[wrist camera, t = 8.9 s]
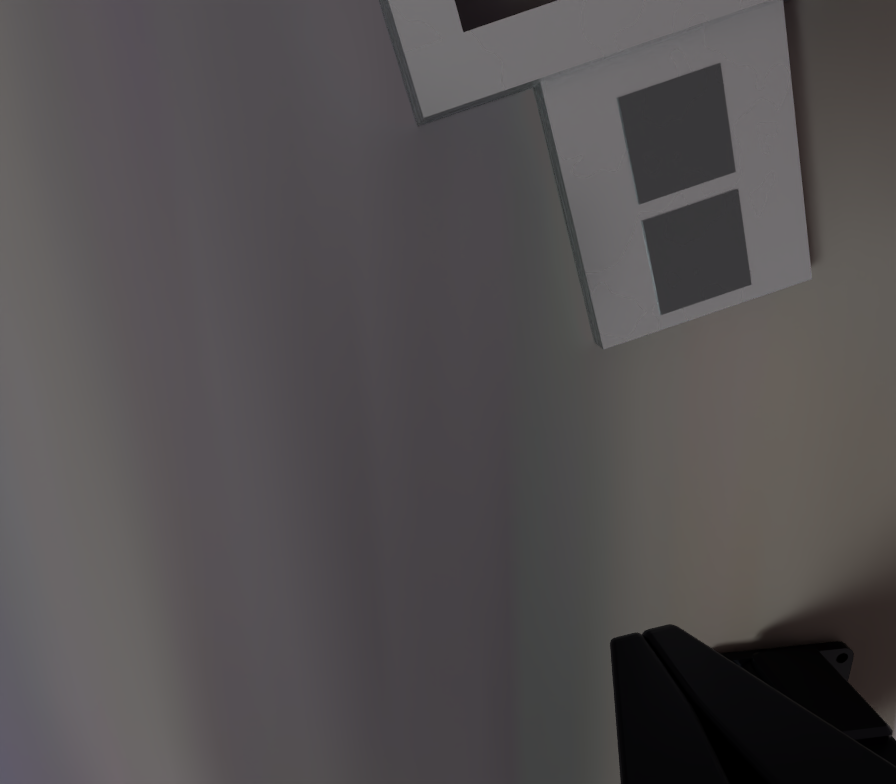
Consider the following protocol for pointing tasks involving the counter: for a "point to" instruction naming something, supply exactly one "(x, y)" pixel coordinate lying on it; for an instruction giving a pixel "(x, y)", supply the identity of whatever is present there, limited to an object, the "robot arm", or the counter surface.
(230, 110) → the counter surface
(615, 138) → the light grey flat frame
